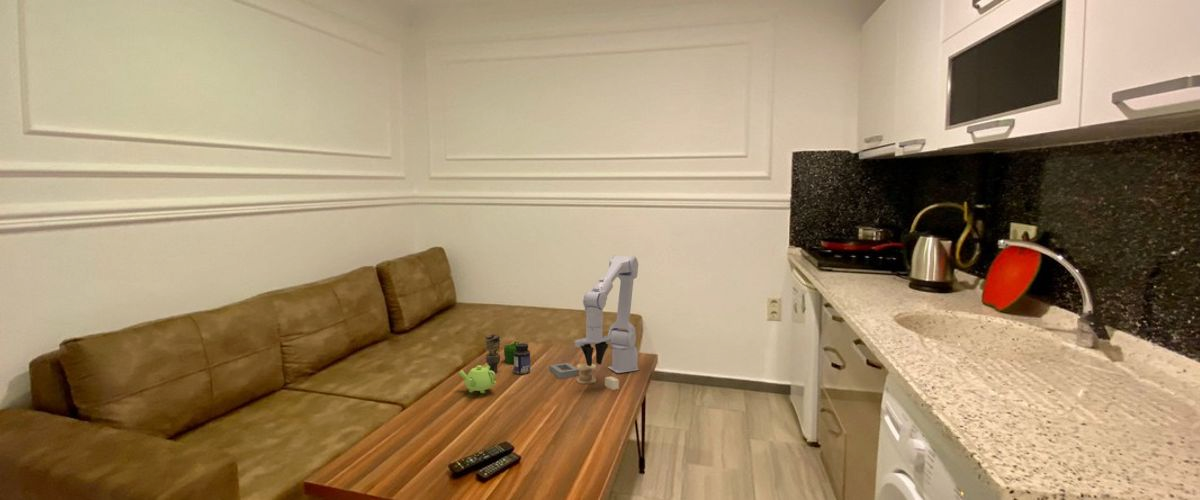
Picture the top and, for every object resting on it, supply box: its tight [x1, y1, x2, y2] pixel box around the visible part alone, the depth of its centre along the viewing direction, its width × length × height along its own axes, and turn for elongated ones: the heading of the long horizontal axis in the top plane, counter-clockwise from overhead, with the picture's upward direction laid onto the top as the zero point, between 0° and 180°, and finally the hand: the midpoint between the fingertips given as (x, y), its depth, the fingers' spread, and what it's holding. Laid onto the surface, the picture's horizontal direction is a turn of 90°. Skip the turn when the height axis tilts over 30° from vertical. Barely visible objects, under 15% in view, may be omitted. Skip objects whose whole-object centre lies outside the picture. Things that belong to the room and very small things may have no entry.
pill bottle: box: [513, 342, 531, 376], centre depth 196 cm, size 6×6×11 cm
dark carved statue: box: [484, 333, 501, 373], centre depth 195 cm, size 6×6×15 cm
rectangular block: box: [604, 376, 620, 391], centre depth 181 cm, size 3×5×3 cm, turn 34°
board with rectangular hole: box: [549, 362, 580, 380], centre depth 195 cm, size 8×10×2 cm
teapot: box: [458, 364, 497, 394], centre depth 177 cm, size 11×12×8 cm
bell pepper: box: [503, 340, 520, 365], centre depth 207 cm, size 8×8×10 cm
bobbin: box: [576, 362, 597, 385], centre depth 187 cm, size 7×7×6 cm
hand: (594, 364), depth 179 cm, fingers open, 3 cm apart
